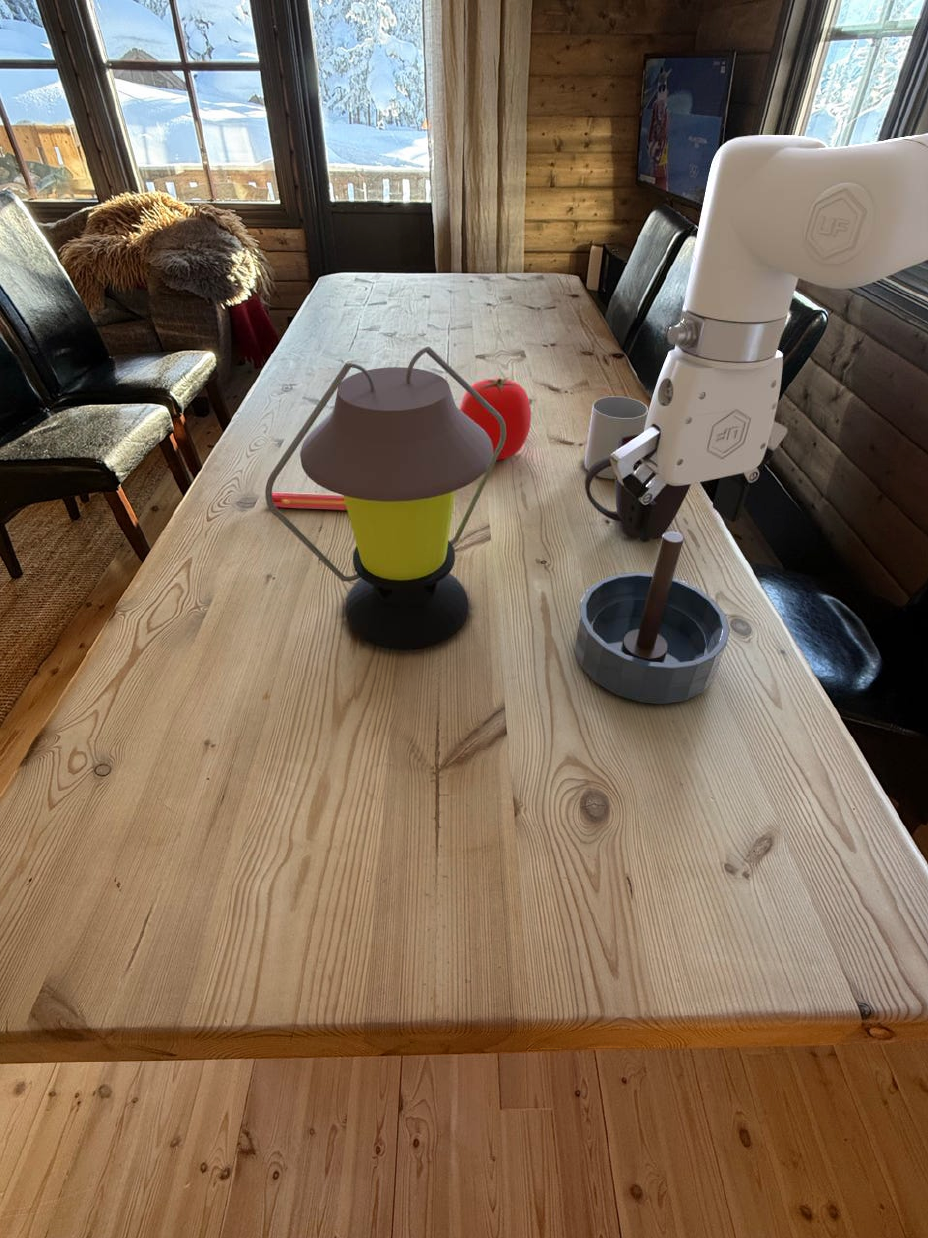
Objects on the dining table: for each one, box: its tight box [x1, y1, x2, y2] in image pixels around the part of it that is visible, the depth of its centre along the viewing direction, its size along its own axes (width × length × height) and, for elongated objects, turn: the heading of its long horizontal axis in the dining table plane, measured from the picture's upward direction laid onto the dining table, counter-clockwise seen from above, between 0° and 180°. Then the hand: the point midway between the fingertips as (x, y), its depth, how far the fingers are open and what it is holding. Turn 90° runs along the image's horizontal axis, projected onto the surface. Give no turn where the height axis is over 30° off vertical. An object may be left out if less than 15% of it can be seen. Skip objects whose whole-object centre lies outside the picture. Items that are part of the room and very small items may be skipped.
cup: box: [584, 395, 649, 480], centre depth 104 cm, size 8×8×10 cm
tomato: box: [459, 377, 532, 461], centre depth 106 cm, size 12×12×13 cm
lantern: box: [264, 346, 506, 651], centre depth 70 cm, size 25×19×30 cm
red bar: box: [272, 491, 347, 511], centre depth 96 cm, size 24×2×5 cm
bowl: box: [573, 571, 731, 705], centre depth 72 cm, size 15×15×6 cm
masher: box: [622, 530, 685, 662], centre depth 68 cm, size 5×5×15 cm
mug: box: [584, 434, 692, 540], centre depth 89 cm, size 10×14×12 cm
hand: (682, 524), depth 62 cm, fingers open, 9 cm apart
